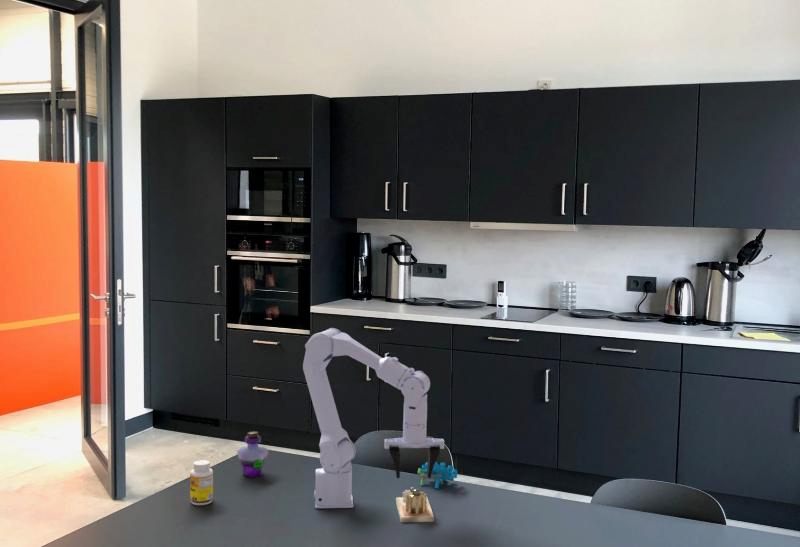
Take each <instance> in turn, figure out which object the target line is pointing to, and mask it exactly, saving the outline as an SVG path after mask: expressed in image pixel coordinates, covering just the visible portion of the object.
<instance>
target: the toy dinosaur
mask: <svg viewBox="0 0 800 547" xmlns="http://www.w3.org/2000/svg"><path fill="white" fill-rule="evenodd" d="M427 465H428V461H426V462H425V464H422V465H421V467H418V468H417V469H418V470H417V474H418V475H419V477H420V479H421V480H420V485H419V486H421V487H423V486H424V481H425V479H427V480H434V481H435V484H434V490H435V489H436V490H438V489H439V488H440V482H441V481H442V482H447V481H451V482H452V481H454V479H457V478H458V470H457V469H455V468H454V466H453V465H450V464H449V465H447V466H446V462H443V461H441V462H440V464H438V462H437V461H436V462H435V464H434V467H433V470H432V474H431V478H428V476H427Z"/></svg>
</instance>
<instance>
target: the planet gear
mask: <svg viewBox="0 0 800 547" xmlns="http://www.w3.org/2000/svg"><path fill="white" fill-rule="evenodd" d="M426 497H427V498H428V496H427V494H426V493H425V492H424V491H421V489H420V488H417V487H416V488H414V489H412V492H407V494H406V511H408V513H410V514H411V513H414V514H419V513H425V511H426Z"/></svg>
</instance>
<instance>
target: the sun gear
mask: <svg viewBox="0 0 800 547" xmlns="http://www.w3.org/2000/svg"><path fill="white" fill-rule="evenodd" d="M414 488H417V487H415V486H410V487H409V489H405V490H403V491H402V497H403V501H405V503H406V494H407V492H412V489H414Z"/></svg>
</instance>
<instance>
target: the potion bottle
mask: <svg viewBox="0 0 800 547" xmlns="http://www.w3.org/2000/svg"><path fill="white" fill-rule="evenodd" d="M246 434H247V435H246V436H245V437H244V443H246V444H247V446H244V447H243V446H242V447H240V448H239V449H238V450H237V451H236V452H237V457H238V461H239V463H240V466H241V467H240V468H241V472H242V476H243V477H244V478H249V479H255V478H260V477H261V476H262V475H263V474H264V473H263V471H264V468H265V464H266V462H265V461H267V458H268V454H269V449H268V448H266V447H265V446H260V445H259V443H261V442H262V437H261V436H260V435H259V431H249V432H247V433H246ZM261 474H262V475H261ZM260 475H261V476H260Z"/></svg>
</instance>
